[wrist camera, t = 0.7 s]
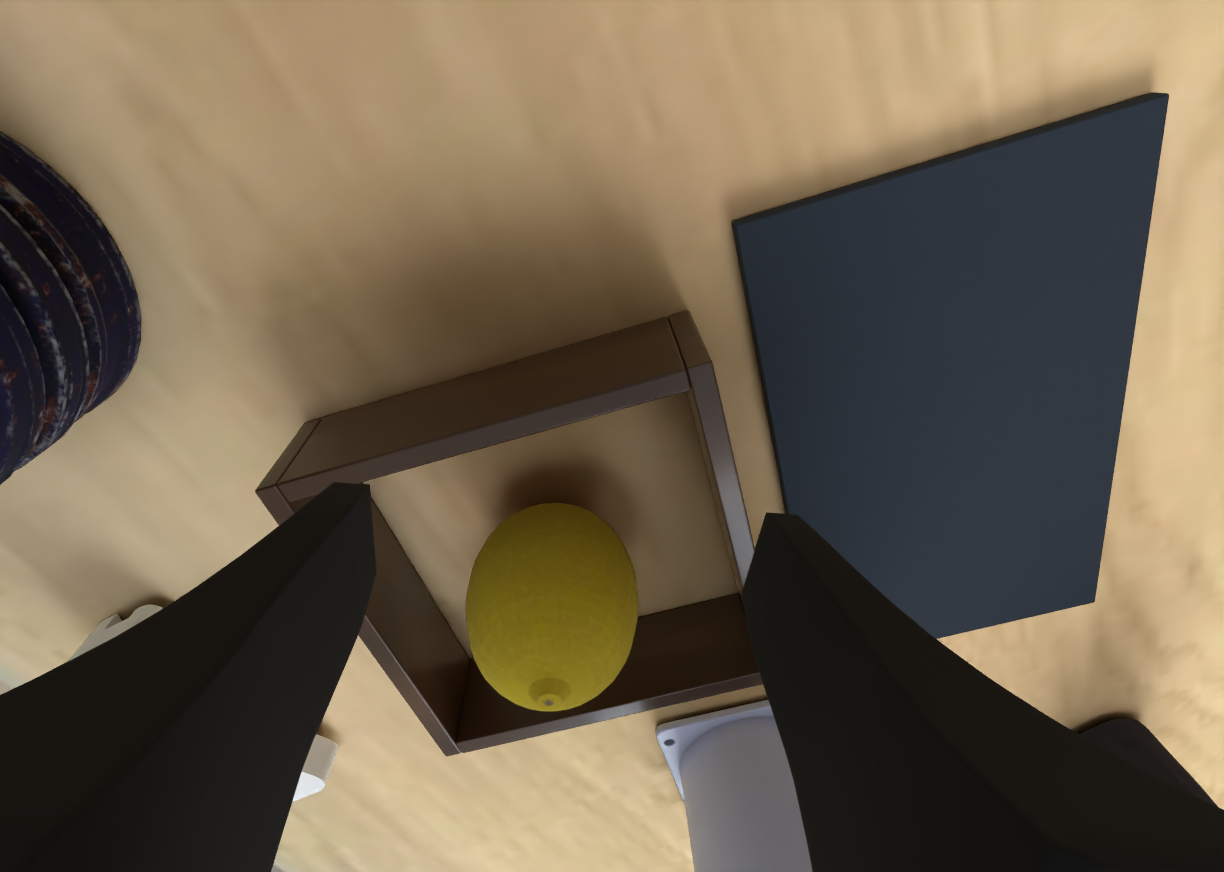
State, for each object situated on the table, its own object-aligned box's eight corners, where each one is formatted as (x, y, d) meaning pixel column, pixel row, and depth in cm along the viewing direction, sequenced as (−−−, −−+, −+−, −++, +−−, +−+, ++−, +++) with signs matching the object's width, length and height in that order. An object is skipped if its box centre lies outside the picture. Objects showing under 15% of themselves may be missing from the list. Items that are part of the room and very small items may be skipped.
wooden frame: (757, 600, 27) (784, 679, 24) (461, 672, 28) (445, 757, 25) (688, 309, 20) (712, 360, 17) (303, 422, 22) (252, 491, 18)
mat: (1085, 592, 28) (1095, 602, 27) (812, 656, 29) (816, 667, 28) (1153, 91, 18) (1170, 92, 17) (730, 220, 19) (735, 225, 18)
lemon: (639, 467, 23) (667, 640, 16) (616, 580, 26) (632, 768, 19) (486, 452, 23) (447, 626, 16) (479, 570, 25) (444, 761, 18)
